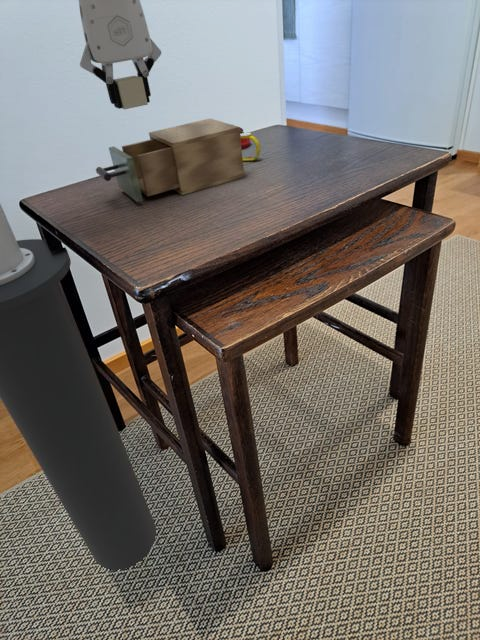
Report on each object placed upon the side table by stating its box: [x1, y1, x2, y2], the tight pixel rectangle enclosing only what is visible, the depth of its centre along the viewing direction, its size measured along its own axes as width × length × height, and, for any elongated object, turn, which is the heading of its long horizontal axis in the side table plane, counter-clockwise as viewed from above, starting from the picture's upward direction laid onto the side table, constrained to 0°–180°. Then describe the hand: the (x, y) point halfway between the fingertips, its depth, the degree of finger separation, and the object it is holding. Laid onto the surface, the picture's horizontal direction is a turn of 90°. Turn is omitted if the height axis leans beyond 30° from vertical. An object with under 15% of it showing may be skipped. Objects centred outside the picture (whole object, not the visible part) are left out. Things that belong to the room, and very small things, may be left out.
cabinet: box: [148, 118, 245, 196], centre depth 95 cm, size 15×13×10 cm
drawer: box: [95, 138, 179, 203], centre depth 90 cm, size 18×12×8 cm
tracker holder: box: [231, 124, 251, 149], centre depth 117 cm, size 12×4×10 cm
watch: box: [240, 132, 261, 162], centre depth 103 cm, size 6×3×6 cm, turn 64°
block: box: [113, 75, 149, 110], centre depth 80 cm, size 4×4×4 cm
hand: (132, 103), depth 81 cm, fingers closed on block, 4 cm apart
